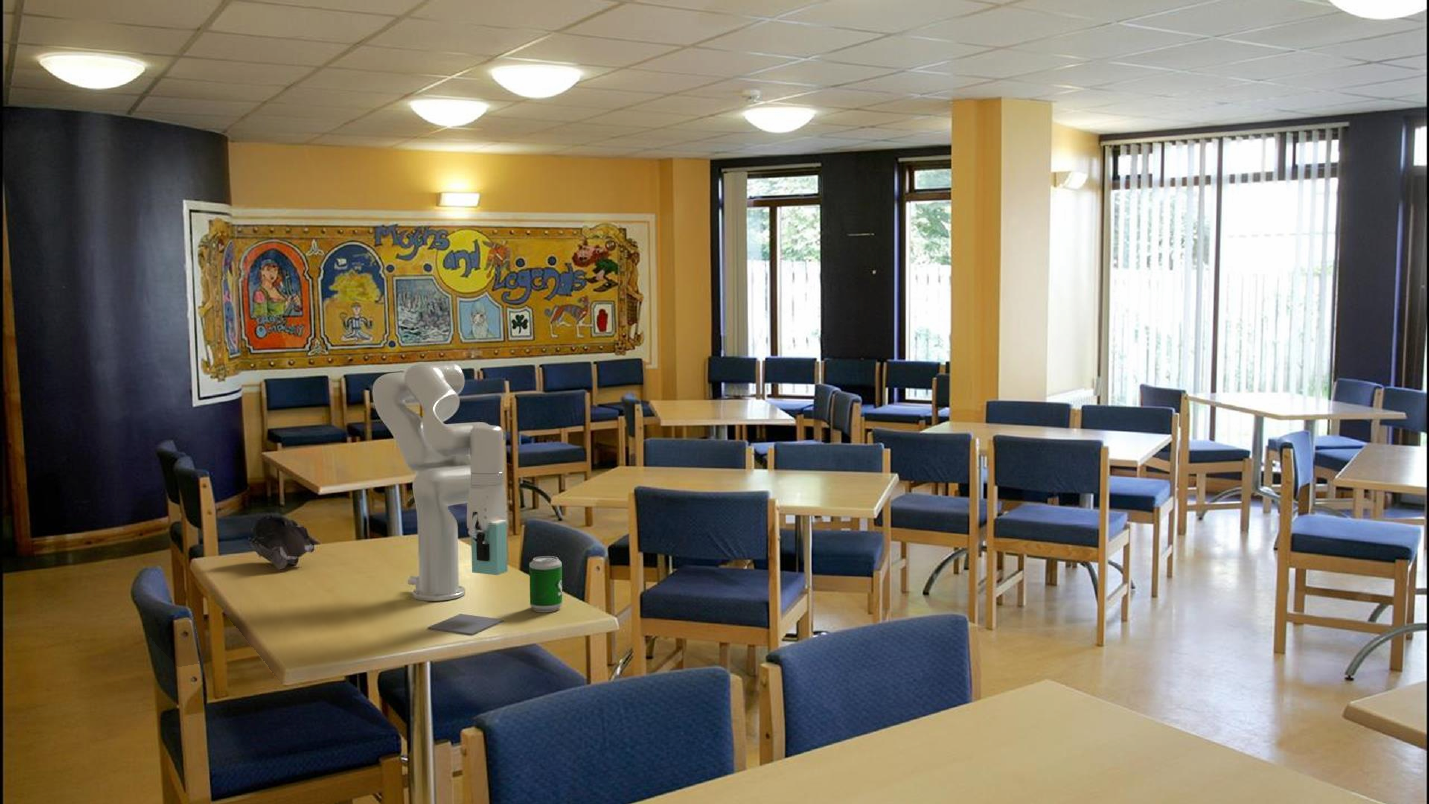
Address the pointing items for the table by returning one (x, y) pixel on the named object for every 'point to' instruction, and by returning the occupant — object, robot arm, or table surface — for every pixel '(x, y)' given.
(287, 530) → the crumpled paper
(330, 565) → the table surface
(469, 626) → the rubber mat
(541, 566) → the soda can
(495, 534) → the teal block
